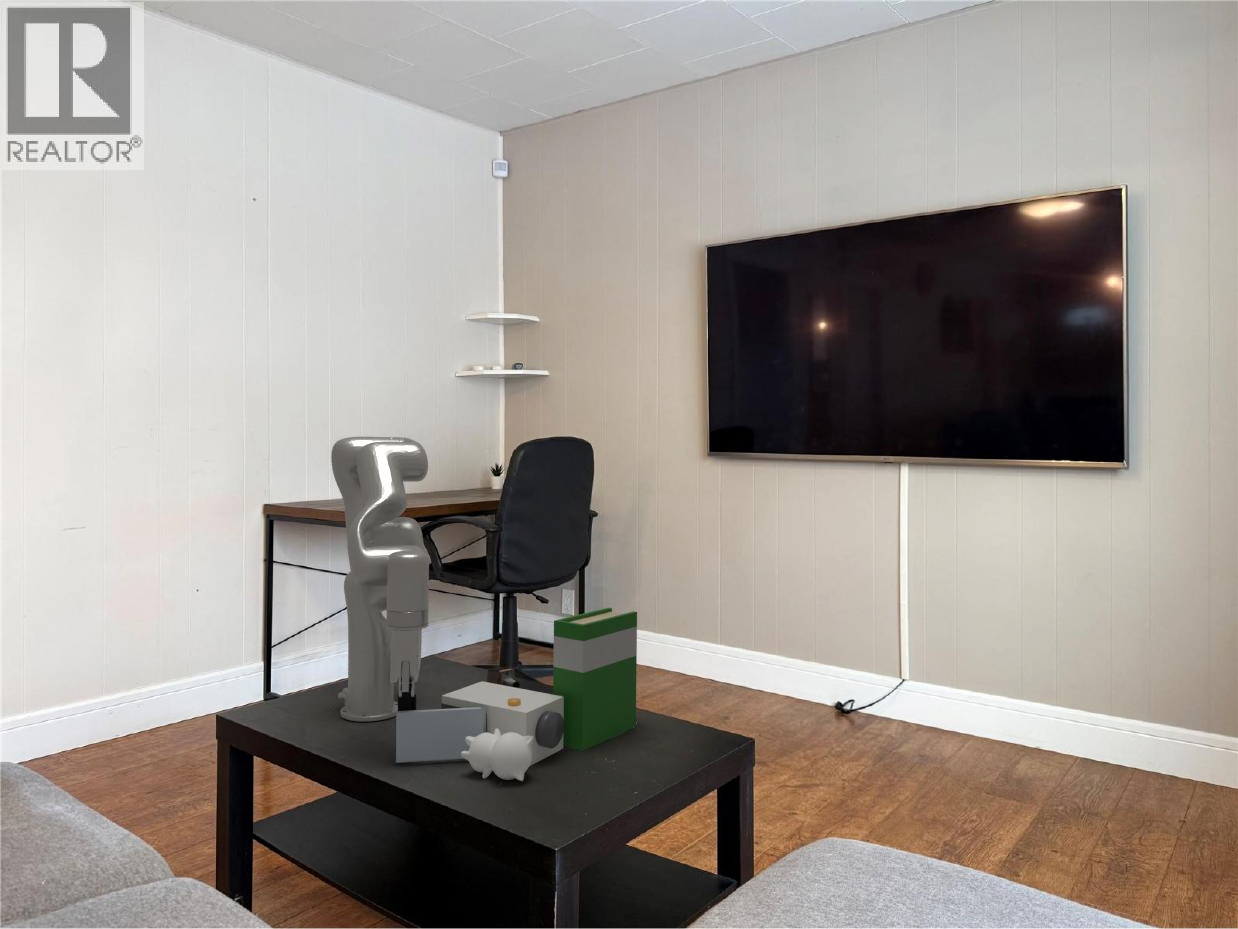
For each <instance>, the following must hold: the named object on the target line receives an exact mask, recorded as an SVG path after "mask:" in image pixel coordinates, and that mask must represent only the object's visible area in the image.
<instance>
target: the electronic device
mask: <svg viewBox="0 0 1238 929" xmlns="http://www.w3.org/2000/svg"><path fill="white" fill-rule="evenodd" d="M514 671H515V670H514V669H512V668H505V667H504V668H503V667H495V668H490V669H488V670H487V676H486V677H487V678H486V682H488V683H493V684H499V685H504V686H509V687H515V688H520V686H521V684H520V682H519V681H516V675H515V672H514Z"/></svg>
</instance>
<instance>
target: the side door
mask: <svg viewBox="0 0 1238 929" xmlns="http://www.w3.org/2000/svg"><path fill="white" fill-rule="evenodd" d="M395 718H396V720H395V723H396V724H395V725H396V726H395V729H396V730H395V735H396V736H395V737H396V738H395V740H396V741H395V746H396V747H395V763H411V762H429V761H431V762H432V761H445V760H446V761H447V760H459V759H460V760H461V759H464V758H463V757H462V756H461V752H462V751H469V748H470V746H469V745H467V743H466V742H465V738H466V737H467V736H471V737H476V736H478V735H479V734H482V733H486V707H473V708H453V709H441V708H437V709H435V708H434V709H416V710H413V711H397V712H396V716H395ZM464 760H465V759H464Z"/></svg>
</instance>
